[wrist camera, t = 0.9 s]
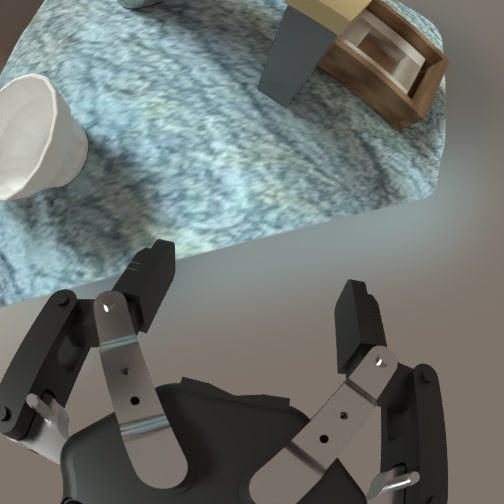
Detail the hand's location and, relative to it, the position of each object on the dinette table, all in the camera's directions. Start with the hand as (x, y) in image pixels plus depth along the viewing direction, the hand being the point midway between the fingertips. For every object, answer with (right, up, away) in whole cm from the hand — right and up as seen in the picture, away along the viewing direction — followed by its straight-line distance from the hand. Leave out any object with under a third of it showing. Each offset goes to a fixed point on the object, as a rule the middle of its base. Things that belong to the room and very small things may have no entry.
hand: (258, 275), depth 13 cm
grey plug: (+3, +20, +17) cm, 26 cm away
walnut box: (+16, +27, +17) cm, 36 cm away
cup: (-24, +13, +15) cm, 31 cm away
